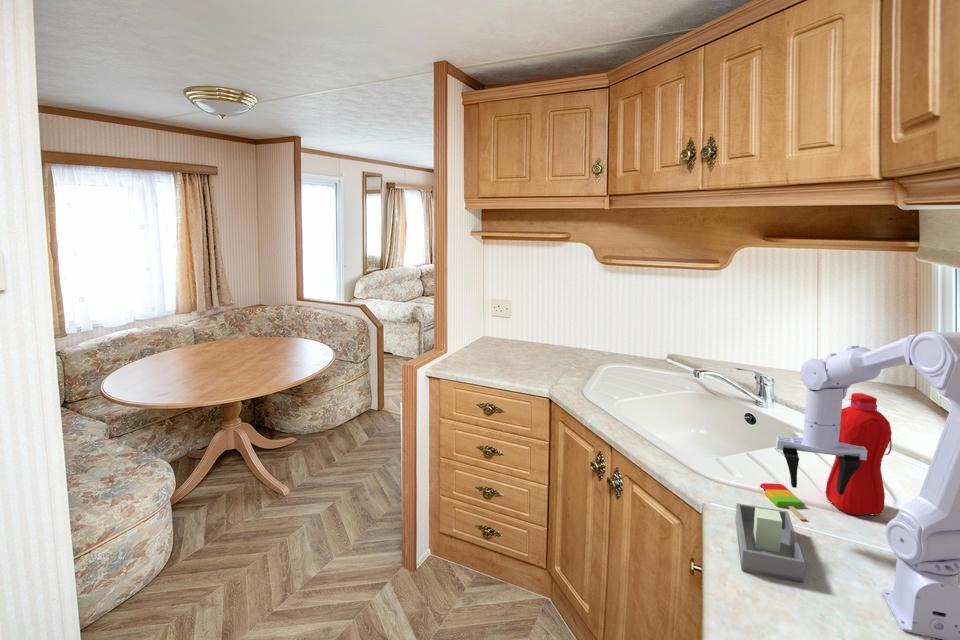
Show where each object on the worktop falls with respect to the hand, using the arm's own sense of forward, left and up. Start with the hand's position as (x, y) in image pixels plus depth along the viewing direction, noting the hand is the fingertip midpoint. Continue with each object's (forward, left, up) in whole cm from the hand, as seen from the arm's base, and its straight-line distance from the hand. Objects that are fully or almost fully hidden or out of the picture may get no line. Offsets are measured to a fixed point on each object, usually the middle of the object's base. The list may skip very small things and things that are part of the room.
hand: (816, 488), depth 102 cm
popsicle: (+12, +3, -10) cm, 16 cm away
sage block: (-9, +9, -9) cm, 15 cm away
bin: (-9, +9, -9) cm, 16 cm away
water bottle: (+16, -11, -10) cm, 22 cm away
